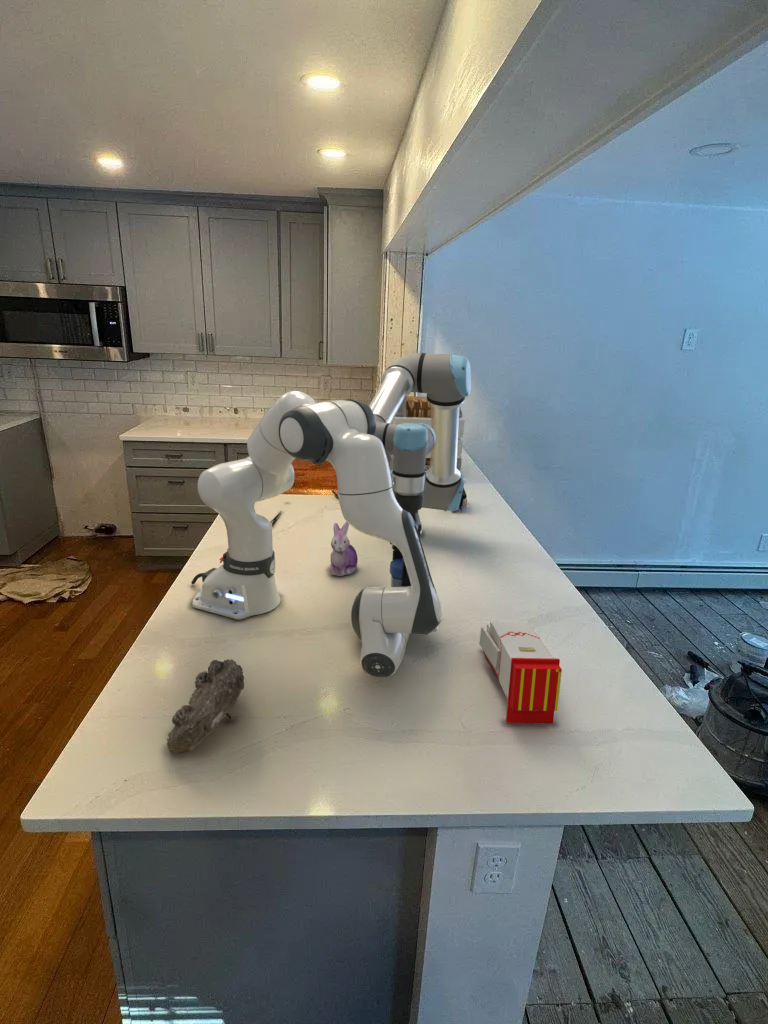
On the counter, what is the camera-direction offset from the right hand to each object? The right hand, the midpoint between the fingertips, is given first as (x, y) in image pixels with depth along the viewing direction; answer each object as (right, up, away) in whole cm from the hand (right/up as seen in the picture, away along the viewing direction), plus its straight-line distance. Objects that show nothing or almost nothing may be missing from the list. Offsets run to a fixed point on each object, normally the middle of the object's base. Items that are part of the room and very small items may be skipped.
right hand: (402, 580), depth 140 cm
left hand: (0, -5, +3) cm, 6 cm away
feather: (-44, +16, +73) cm, 87 cm away
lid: (0, +4, -1) cm, 4 cm away
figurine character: (+25, +19, +90) cm, 95 cm away
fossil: (-37, -22, -32) cm, 54 cm away
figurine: (-17, -1, +31) cm, 35 cm away
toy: (+23, -20, -17) cm, 35 cm away
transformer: (+13, +36, +135) cm, 140 cm away
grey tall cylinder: (0, -11, +4) cm, 12 cm away
